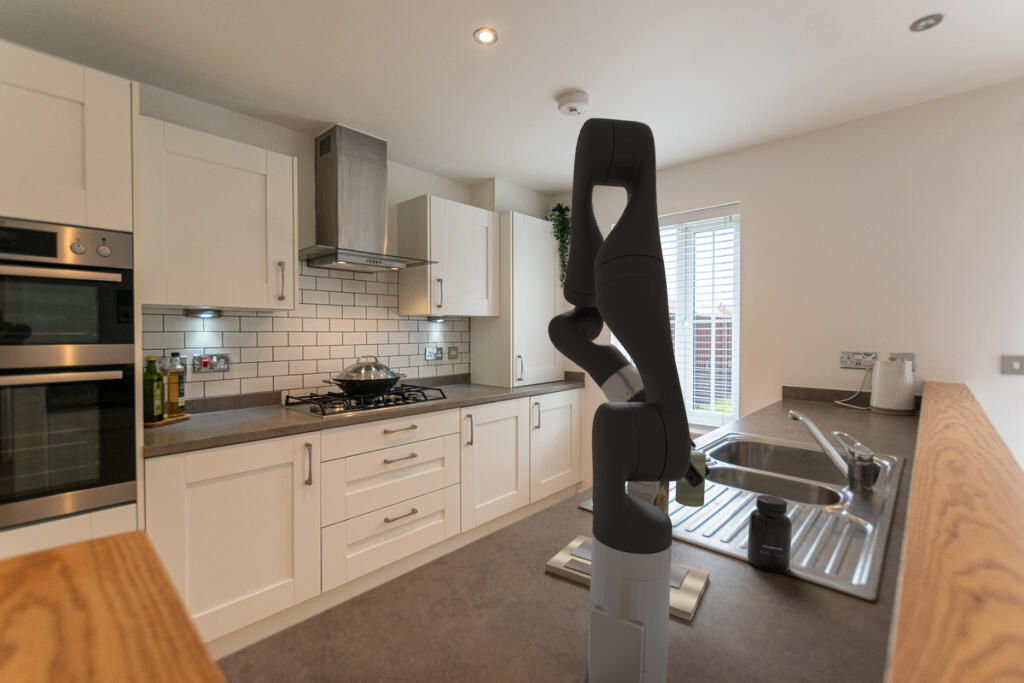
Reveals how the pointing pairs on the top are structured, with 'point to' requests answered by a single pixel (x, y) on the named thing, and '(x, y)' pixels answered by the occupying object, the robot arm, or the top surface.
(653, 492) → the coffee box
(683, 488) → the green cylinder
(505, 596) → the top surface
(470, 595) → the top surface
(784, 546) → the supplement bottle
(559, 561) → the board
